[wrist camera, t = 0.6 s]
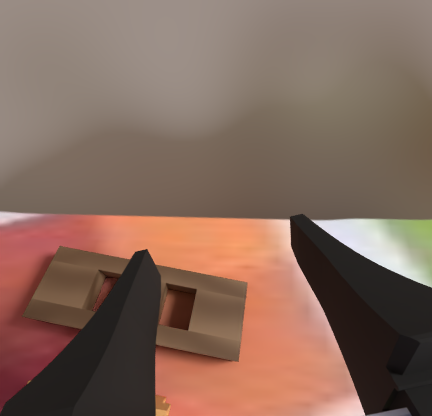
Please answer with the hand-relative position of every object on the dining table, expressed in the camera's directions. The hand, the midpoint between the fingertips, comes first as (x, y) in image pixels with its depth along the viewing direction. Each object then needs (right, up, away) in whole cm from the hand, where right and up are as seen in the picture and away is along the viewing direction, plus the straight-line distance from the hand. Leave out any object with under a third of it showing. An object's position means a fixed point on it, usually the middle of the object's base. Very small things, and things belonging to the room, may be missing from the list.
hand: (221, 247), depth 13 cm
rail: (-8, -8, +14) cm, 18 cm away
